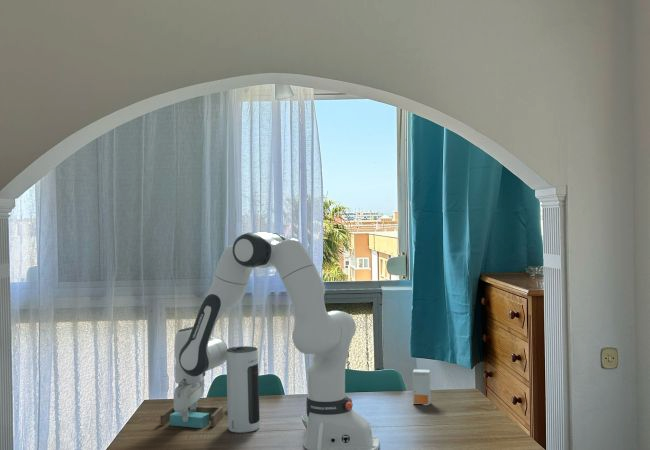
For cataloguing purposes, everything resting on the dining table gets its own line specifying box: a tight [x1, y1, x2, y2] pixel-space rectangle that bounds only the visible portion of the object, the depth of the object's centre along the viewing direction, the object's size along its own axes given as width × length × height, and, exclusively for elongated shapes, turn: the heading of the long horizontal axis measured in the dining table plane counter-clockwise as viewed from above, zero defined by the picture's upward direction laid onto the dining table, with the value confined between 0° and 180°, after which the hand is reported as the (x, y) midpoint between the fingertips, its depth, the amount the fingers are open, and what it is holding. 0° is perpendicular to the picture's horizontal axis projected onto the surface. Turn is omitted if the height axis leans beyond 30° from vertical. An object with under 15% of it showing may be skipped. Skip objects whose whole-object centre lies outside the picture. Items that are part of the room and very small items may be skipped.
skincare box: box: [412, 368, 432, 405], centre depth 233 cm, size 6×4×12 cm
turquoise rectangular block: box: [169, 412, 210, 429], centre depth 214 cm, size 12×5×4 cm, turn 71°
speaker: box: [225, 345, 261, 434], centre depth 209 cm, size 11×10×26 cm
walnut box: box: [160, 405, 224, 428], centre depth 217 cm, size 18×11×4 cm, turn 83°
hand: (189, 417), depth 214 cm, fingers closed on turquoise rectangular block, 5 cm apart
